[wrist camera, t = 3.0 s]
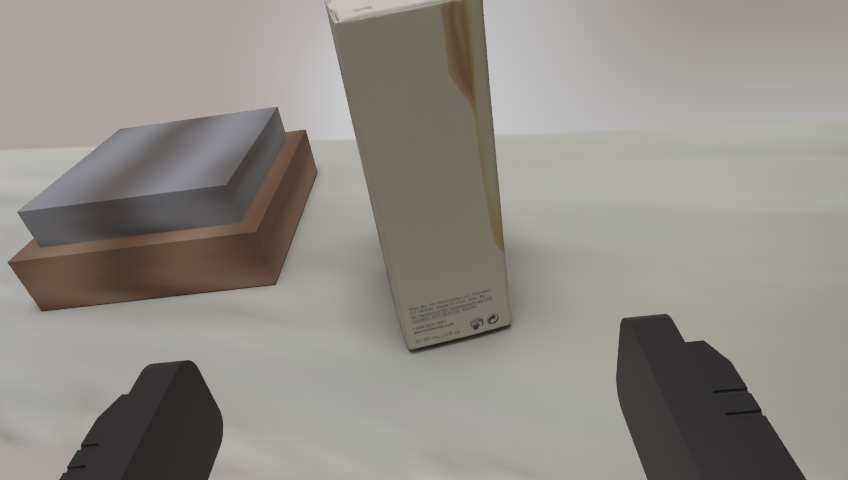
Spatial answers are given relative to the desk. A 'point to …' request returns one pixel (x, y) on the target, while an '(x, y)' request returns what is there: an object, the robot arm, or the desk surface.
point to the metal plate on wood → (169, 212)
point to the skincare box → (428, 158)
